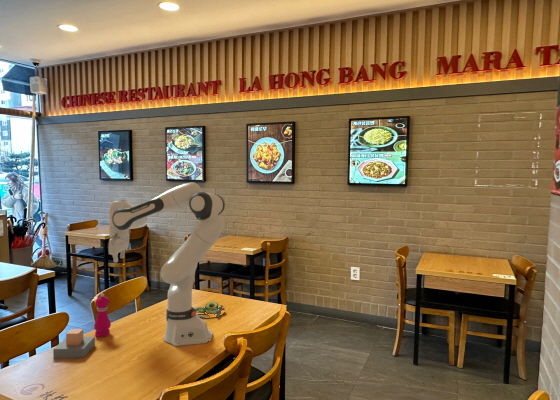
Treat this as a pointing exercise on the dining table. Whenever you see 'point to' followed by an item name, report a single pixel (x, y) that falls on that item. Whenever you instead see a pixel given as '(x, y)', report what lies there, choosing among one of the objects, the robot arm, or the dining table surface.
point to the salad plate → (210, 309)
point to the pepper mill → (102, 317)
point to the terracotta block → (74, 337)
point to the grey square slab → (74, 349)
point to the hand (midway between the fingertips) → (119, 260)
